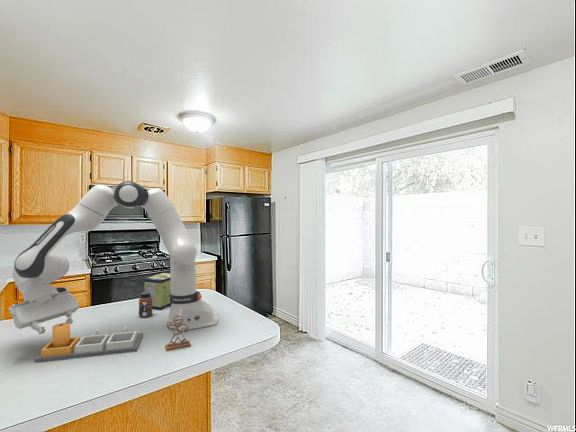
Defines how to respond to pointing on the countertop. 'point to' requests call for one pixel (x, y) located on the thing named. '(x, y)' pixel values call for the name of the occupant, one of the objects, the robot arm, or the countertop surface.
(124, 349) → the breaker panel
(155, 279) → the protein box
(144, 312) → the supplement bottle
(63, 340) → the cap
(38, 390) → the countertop surface
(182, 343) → the gingerbread man figurine
